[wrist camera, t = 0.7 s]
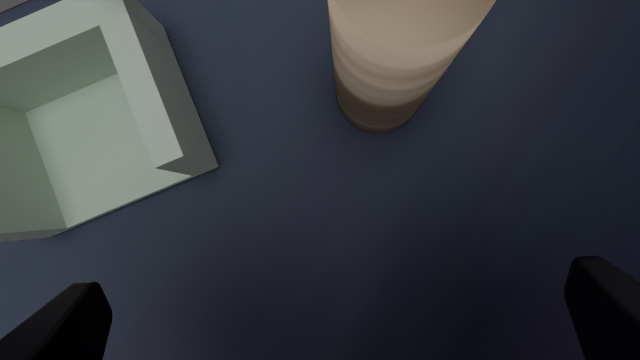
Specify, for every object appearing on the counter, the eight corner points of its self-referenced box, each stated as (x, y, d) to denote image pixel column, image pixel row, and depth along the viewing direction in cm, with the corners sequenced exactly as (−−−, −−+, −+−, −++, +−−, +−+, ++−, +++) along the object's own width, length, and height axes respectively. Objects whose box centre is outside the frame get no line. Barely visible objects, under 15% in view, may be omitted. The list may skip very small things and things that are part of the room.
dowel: (401, 146, 23) (468, 73, 10) (323, 114, 23) (296, 6, 11) (432, 69, 23) (536, -97, 10) (355, 38, 23) (365, -158, 11)
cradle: (218, 166, 23) (183, 156, 18) (50, 236, 23) (-30, 245, 18) (163, 26, 23) (113, -23, 18) (-1, 96, 24) (-93, 67, 19)
